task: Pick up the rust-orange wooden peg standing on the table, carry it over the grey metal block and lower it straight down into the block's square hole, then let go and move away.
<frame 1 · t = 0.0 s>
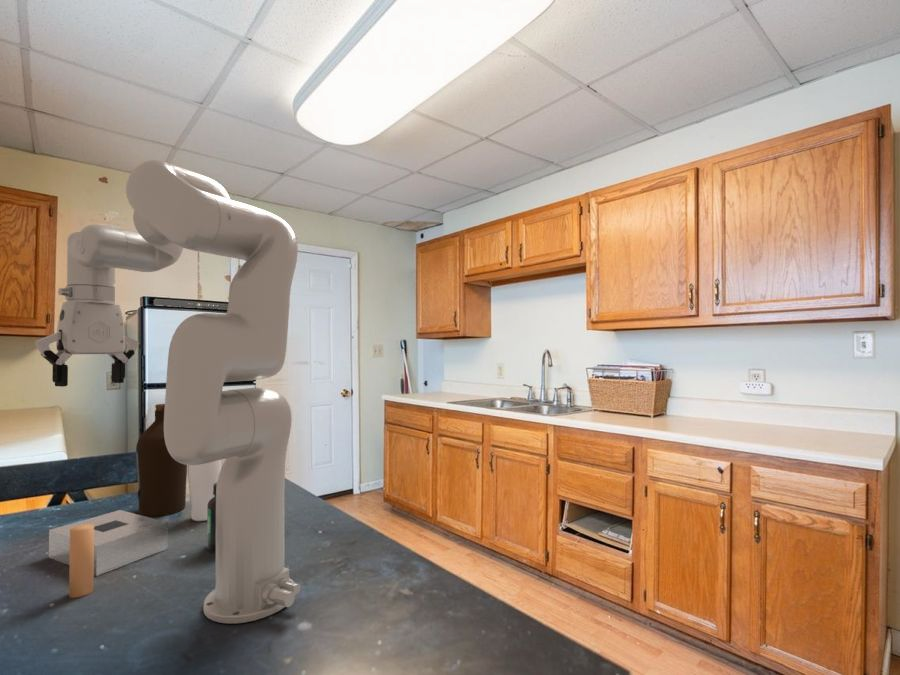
hand: (90, 384, 92), 31 cm above the table, tool pointing down, fingers open, 9 cm apart
supplement bottle: (227, 546, 91), on the table
drinking glass: (204, 518, 106), on the table
hole block: (109, 553, 88), on the table
peg: (81, 592, 73), on the table
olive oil: (162, 511, 112), on the table
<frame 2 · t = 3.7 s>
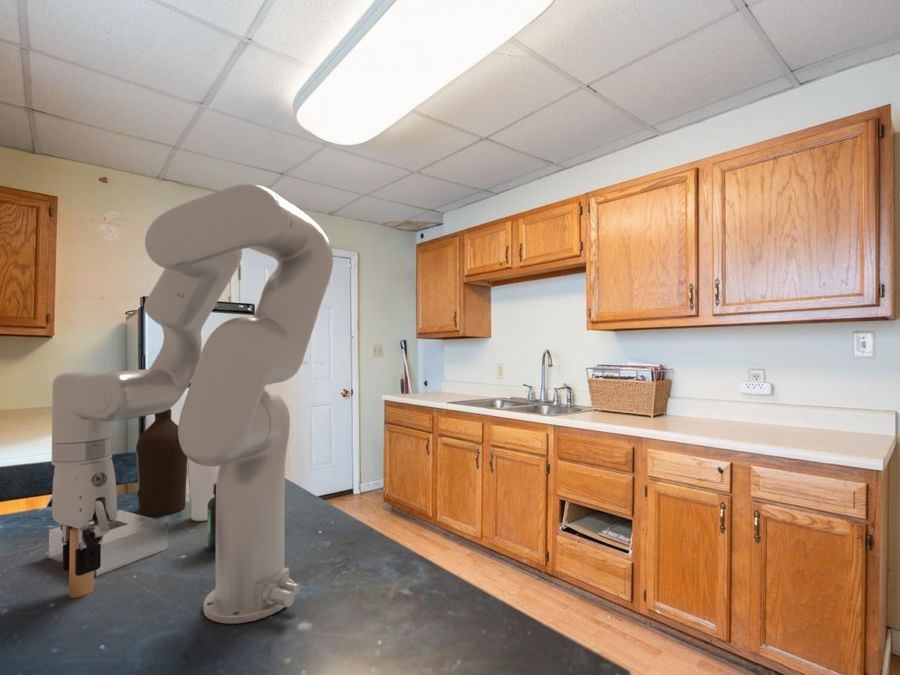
hand: (81, 568, 73), 4 cm above the table, tool pointing down, fingers closed on peg, 3 cm apart
peg: (81, 592, 73), on the table, touching gripper
everything else where it was.
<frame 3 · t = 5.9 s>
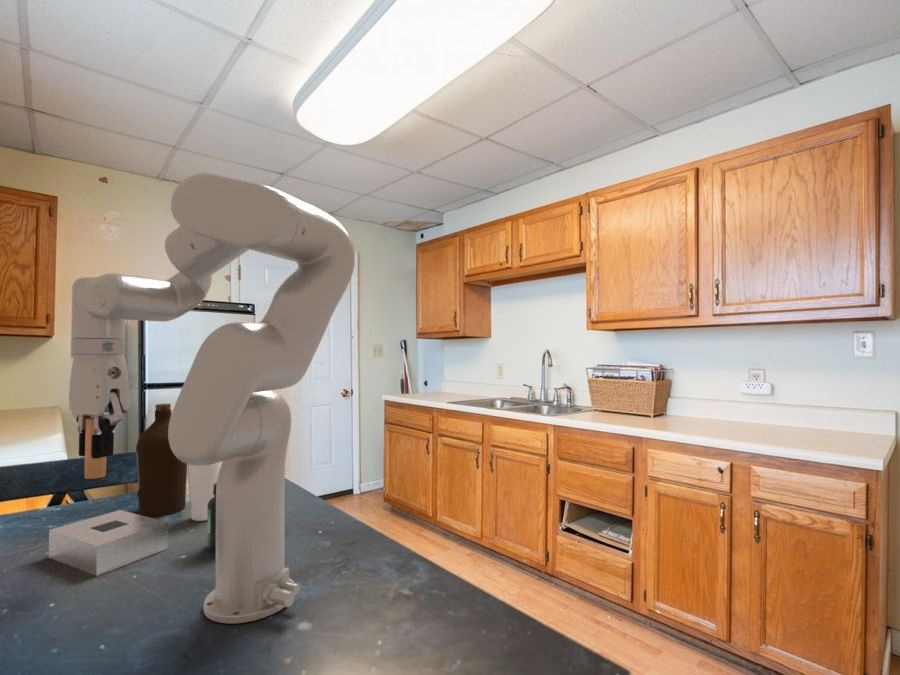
hand: (96, 454, 81), 20 cm above the table, tool pointing down, fingers closed on peg, 3 cm apart
peg: (95, 476, 81), point 16 cm above the table, touching gripper
everything else where it was.
when the fingers open (7 cm above the table, at t = 8.4 s): peg drops 3 cm, resting in hole block.
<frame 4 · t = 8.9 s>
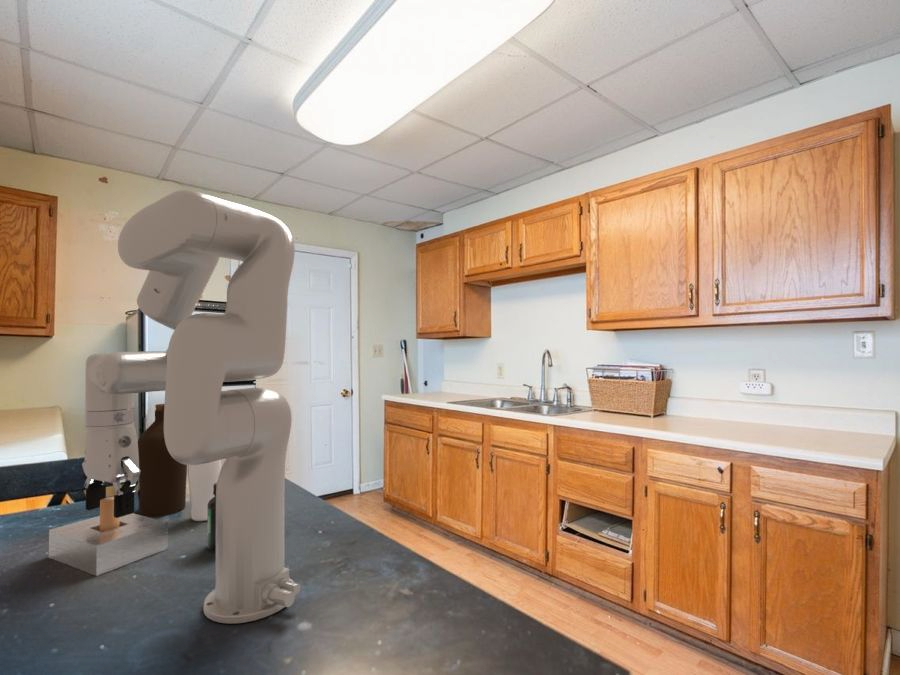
hand: (109, 511, 88), 8 cm above the table, tool pointing down, fingers open, 9 cm apart
peg: (109, 553, 88), resting in hole block
everything else where it was.
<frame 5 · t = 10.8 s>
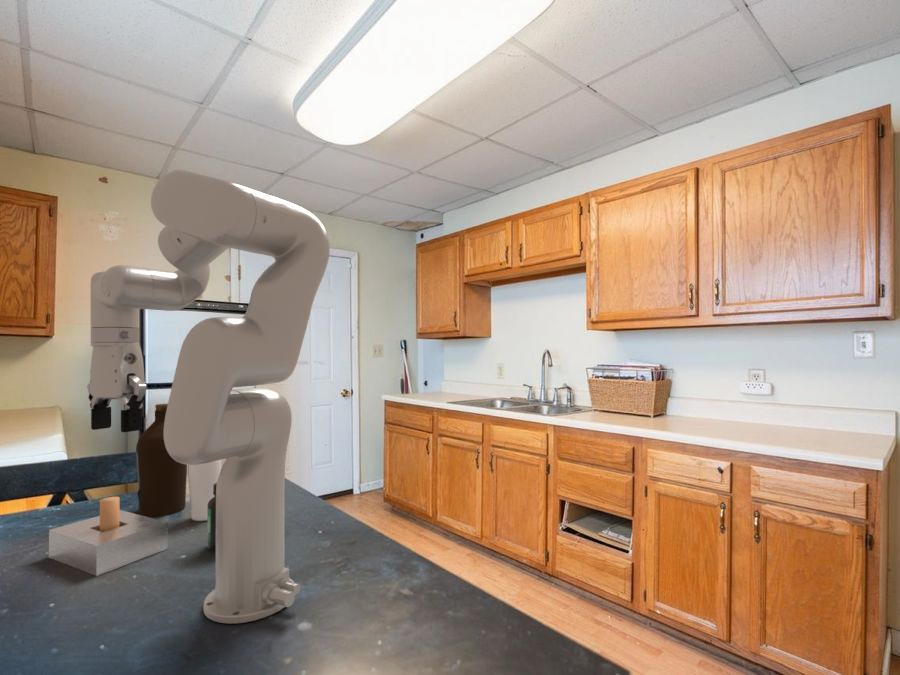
hand: (115, 429, 88), 23 cm above the table, tool pointing down, fingers open, 9 cm apart
nothing on the table moved.
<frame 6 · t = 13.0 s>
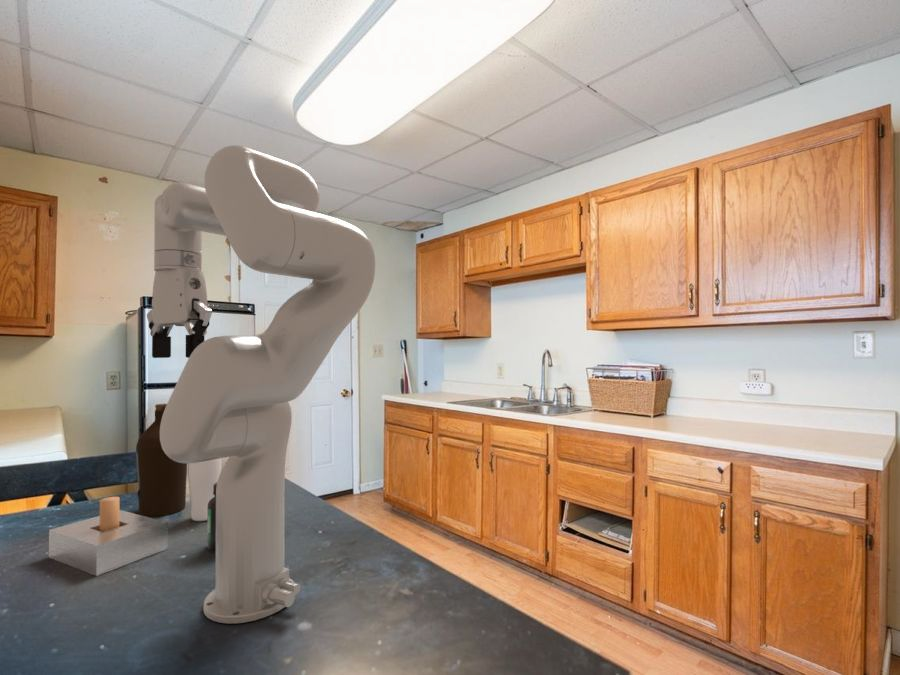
hand: (177, 357, 86), 36 cm above the table, tool pointing down, fingers open, 9 cm apart
nothing on the table moved.
at the end: peg 0.1 cm off-centre on the hole block, point 0.0 cm above the hole block's base; peg tilted 0°; the gripper is holding nothing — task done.
